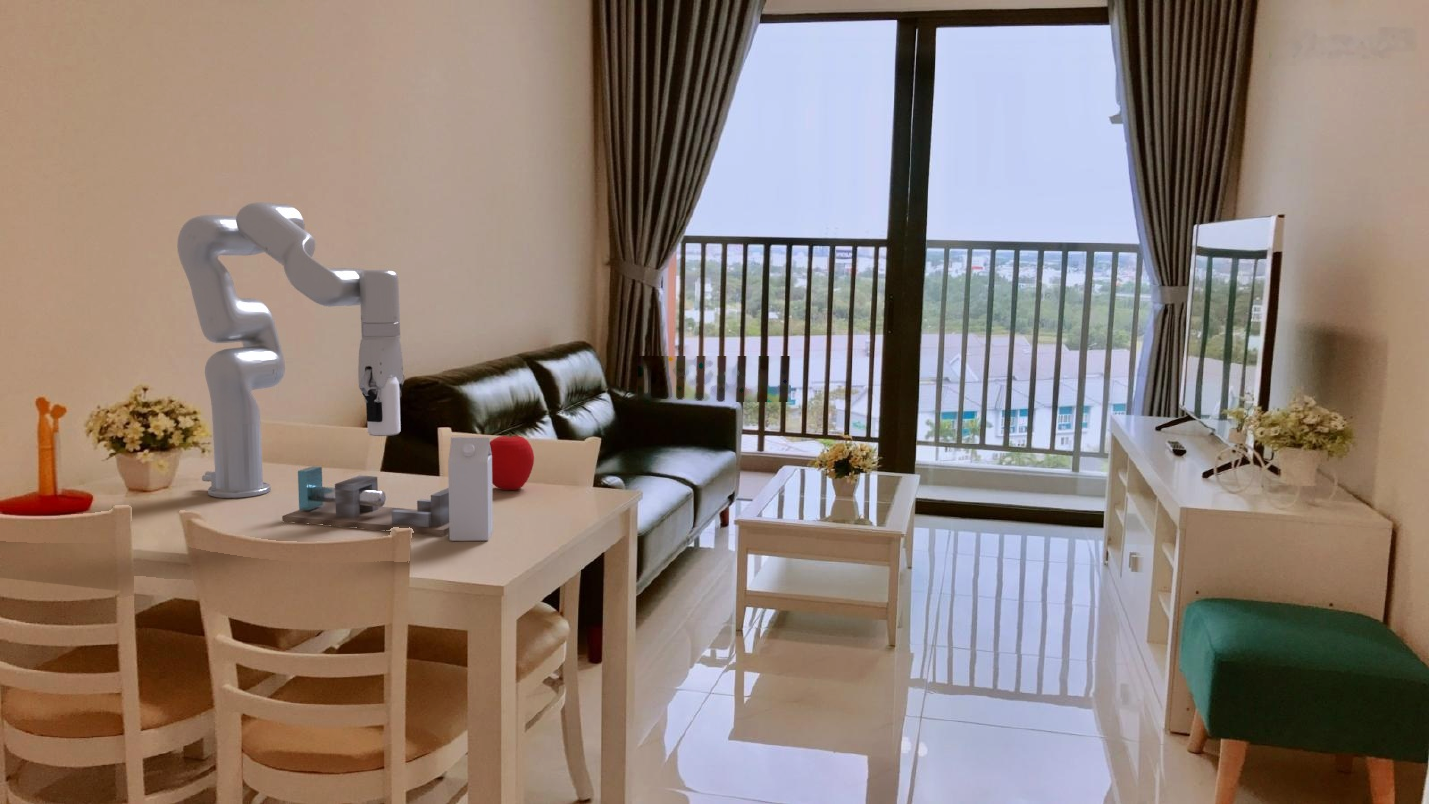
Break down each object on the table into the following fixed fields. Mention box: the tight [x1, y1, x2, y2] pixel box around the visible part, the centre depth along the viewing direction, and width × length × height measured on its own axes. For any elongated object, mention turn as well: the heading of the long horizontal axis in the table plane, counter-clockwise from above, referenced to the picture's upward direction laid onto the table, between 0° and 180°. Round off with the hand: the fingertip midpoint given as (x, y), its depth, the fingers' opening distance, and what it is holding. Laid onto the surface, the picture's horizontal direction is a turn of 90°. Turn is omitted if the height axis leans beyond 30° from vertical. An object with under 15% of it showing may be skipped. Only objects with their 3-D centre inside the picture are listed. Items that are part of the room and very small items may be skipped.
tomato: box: [490, 432, 535, 491], centre depth 246 cm, size 11×11×13 cm
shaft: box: [297, 466, 387, 511], centre depth 218 cm, size 17×5×8 cm, turn 75°
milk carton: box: [447, 436, 494, 542], centre depth 205 cm, size 7×7×19 cm
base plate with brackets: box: [281, 475, 450, 537], centre depth 216 cm, size 35×13×8 cm, turn 75°
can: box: [366, 375, 402, 437], centre depth 223 cm, size 6×6×12 cm
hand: (384, 418), depth 223 cm, fingers closed on can, 6 cm apart
